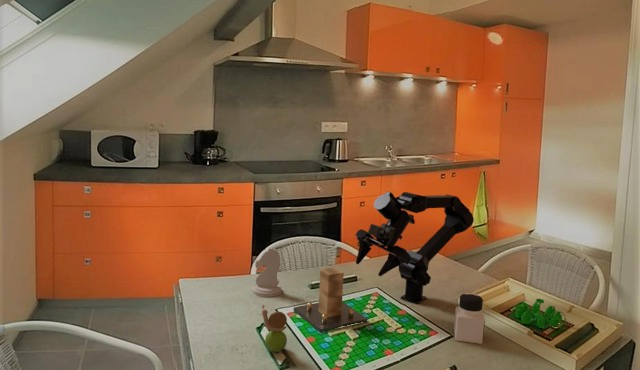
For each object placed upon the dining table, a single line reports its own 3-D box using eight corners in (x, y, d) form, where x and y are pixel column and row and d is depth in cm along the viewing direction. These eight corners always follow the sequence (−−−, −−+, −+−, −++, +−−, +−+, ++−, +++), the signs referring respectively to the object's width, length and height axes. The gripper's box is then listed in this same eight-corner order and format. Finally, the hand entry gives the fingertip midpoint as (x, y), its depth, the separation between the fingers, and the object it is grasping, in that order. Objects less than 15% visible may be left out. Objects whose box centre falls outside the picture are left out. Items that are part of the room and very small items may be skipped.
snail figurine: (261, 345, 124) (262, 301, 122) (286, 345, 125) (287, 301, 123) (260, 356, 119) (261, 310, 117) (286, 356, 119) (288, 310, 117)
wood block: (332, 308, 146) (334, 267, 144) (341, 314, 142) (343, 272, 140) (318, 311, 144) (320, 269, 142) (326, 317, 140) (328, 274, 138)
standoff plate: (338, 301, 154) (338, 293, 153) (367, 322, 140) (367, 312, 140) (293, 310, 146) (293, 301, 146) (319, 332, 132) (320, 322, 132)
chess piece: (256, 285, 166) (256, 242, 163) (284, 287, 165) (285, 244, 162) (249, 295, 156) (249, 251, 154) (278, 298, 155) (280, 253, 153)
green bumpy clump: (569, 337, 137) (572, 314, 136) (513, 328, 141) (515, 305, 140) (560, 316, 151) (562, 295, 150) (509, 308, 155) (511, 288, 154)
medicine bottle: (482, 344, 130) (487, 302, 128) (455, 341, 131) (459, 299, 129) (479, 332, 136) (483, 292, 135) (453, 329, 138) (457, 289, 136)
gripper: (361, 205, 150) (333, 246, 147) (409, 224, 137) (380, 270, 134) (376, 222, 158) (350, 262, 154) (422, 242, 145) (395, 286, 141)
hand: (367, 269), depth 146 cm, fingers open, 9 cm apart
